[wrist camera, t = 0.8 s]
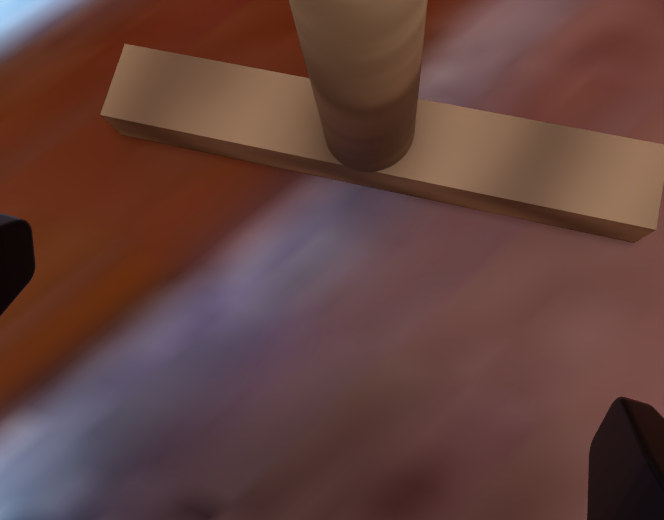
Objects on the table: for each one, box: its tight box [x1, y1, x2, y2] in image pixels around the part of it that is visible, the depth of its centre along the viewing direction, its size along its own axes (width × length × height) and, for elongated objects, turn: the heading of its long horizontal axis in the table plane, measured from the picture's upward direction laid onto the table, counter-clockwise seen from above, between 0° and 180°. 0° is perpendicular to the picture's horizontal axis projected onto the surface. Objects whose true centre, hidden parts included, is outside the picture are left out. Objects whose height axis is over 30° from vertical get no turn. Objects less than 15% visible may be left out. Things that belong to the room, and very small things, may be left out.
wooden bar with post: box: [100, 0, 664, 243], centre depth 17 cm, size 20×3×12 cm, turn 76°
